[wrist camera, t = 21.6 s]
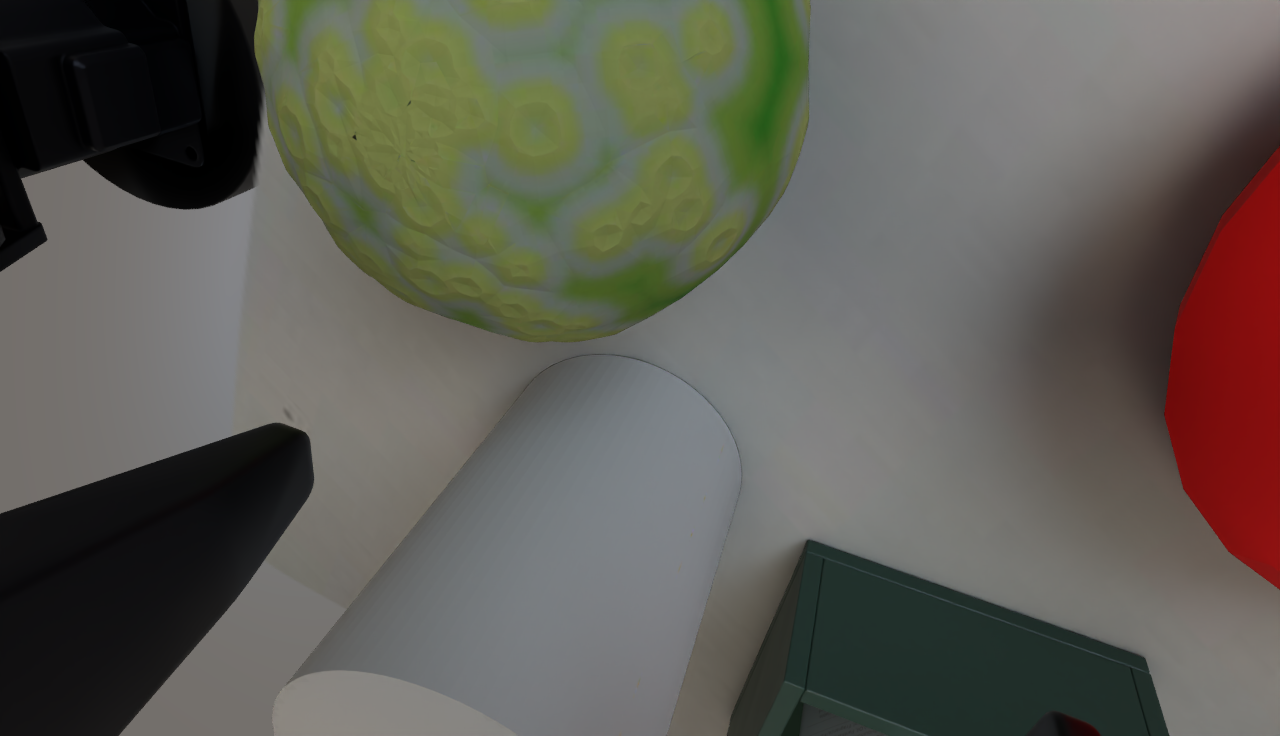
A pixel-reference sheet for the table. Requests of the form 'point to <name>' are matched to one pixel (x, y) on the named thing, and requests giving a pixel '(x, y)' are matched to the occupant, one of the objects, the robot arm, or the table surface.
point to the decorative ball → (538, 146)
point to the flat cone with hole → (1234, 378)
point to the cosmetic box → (830, 724)
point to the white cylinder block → (542, 573)
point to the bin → (929, 661)
